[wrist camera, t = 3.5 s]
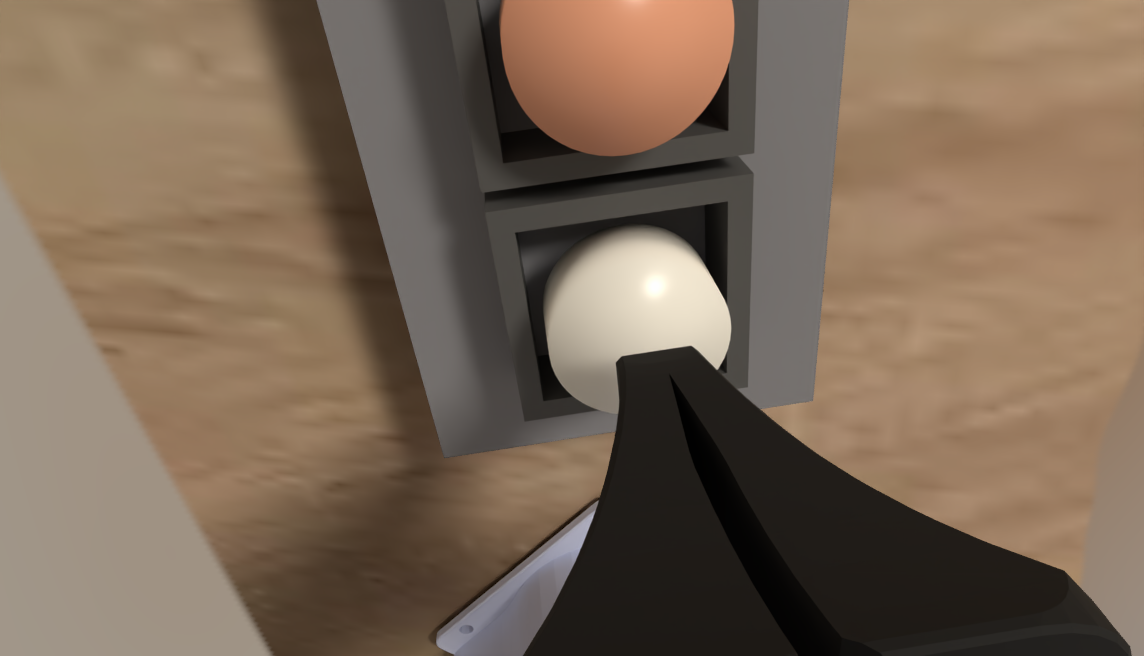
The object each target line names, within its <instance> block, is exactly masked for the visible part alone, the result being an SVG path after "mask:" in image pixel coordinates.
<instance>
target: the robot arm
mask: <svg viewBox="0 0 1144 656" xmlns="http://www.w3.org/2000/svg"><path fill="white" fill-rule="evenodd" d="M616 372H617V382H618V392H619V410H618V418H617V425H616V433H615V439H614V444H613V448H612V453H611V457H610V462H609V466H608V471H607V475H606V478H605V482H604V485H603V489H602V492H601V495H600V499H599V500H598V501H596V502H595V503H594V504H593V505H592V506H590V507H589V508H588V509H587V510H585V511H584V512H583V513H582V514H581V515H579V516H578V517H577V518H576V519H574V520H573V521H572V522H571V523H570V524H568V525H567V526H566V527H565V528H563V529H562V530H561V531H560V532H559V533H557V534H556V535H555V536H554V537H552V538H551V539H550V540H549V541H548V542H546V543H545V544H544V545H543V546H541V547H540V548H539V549H538V550H537V551H535V552H534V553H533V554H532V555H530V556H529V557H528V558H527V559H526V560H524V561H523V562H522V563H521V564H520V565H518V566H517V567H516V568H515V569H513V570H512V571H511V572H510V573H509V574H507V575H506V576H505V577H504V578H502V579H501V580H500V581H499V582H498V583H496V584H495V585H494V586H493V587H491V588H490V589H489V590H488V591H487V592H485V593H484V594H483V595H482V596H480V597H479V598H478V599H477V600H476V601H474V602H473V603H472V604H471V605H469V606H468V607H467V608H466V609H465V610H463V611H462V612H461V613H460V614H459V615H457V616H456V617H455V618H454V619H452V620H451V621H450V622H449V623H448V624H446V625H445V626H444V627H443V628H441V629H440V630H439V631H438V632H437V637H436V644H437V646H438V647H439V648H441V649H442V650H445V651H447V652H449V653H451V654H454V656H1132V655H1131V649H1130V646H1129V645H1128V644H1127V642H1126V641H1125V640H1124V639H1123V637H1121V635H1120V634H1119V633H1118V631H1117V630H1116V629H1115V628H1114V627H1113V625H1112V624H1111V623H1110V622H1109V620H1108V619H1107V618H1106V616H1105V615H1104V614H1103V613H1102V612H1101V610H1100V609H1099V608H1098V607H1097V606H1096V604H1095V603H1094V602H1093V601H1092V599H1091V598H1090V597H1089V596H1088V595H1087V594H1086V593H1085V592H1084V591H1083V590H1082V589H1081V588H1080V587H1079V586H1078V585H1077V584H1076V583H1075V582H1074V581H1073V580H1072V578H1071V577H1070V576H1069V575H1068V574H1067V573H1066V572H1065V571H1063V570H1061V569H1058V568H1055V567H1052V566H1050V565H1047V564H1044V563H1042V562H1039V561H1036V560H1033V559H1031V558H1028V557H1025V556H1022V555H1020V554H1017V553H1014V552H1011V551H1009V550H1006V549H1003V548H1001V547H998V546H995V545H992V544H990V543H987V542H985V541H982V540H980V539H977V538H975V537H973V536H970V535H968V534H966V533H964V532H961V531H959V530H957V529H954V528H952V527H950V526H948V525H945V524H943V523H941V522H938V521H936V520H934V519H932V518H930V517H928V516H926V515H924V514H922V513H919V512H917V511H915V510H913V509H911V508H909V507H907V506H905V505H904V504H902V503H900V502H898V501H896V500H894V499H892V498H890V497H888V496H887V495H885V494H883V493H881V492H879V491H877V490H875V489H873V488H872V487H870V486H868V485H866V484H865V483H863V482H861V481H859V480H858V479H856V478H854V477H853V476H851V475H849V474H848V473H846V472H845V471H843V470H841V469H840V468H838V467H837V466H835V465H834V464H832V463H830V462H829V461H827V460H826V459H824V458H823V457H821V456H820V455H818V454H817V453H815V452H814V451H813V450H811V449H810V448H808V447H807V446H806V445H804V444H803V443H802V442H800V441H799V440H798V439H796V438H795V437H794V436H792V435H791V434H790V433H788V432H787V431H786V430H785V429H783V428H782V427H781V426H780V425H778V424H777V423H776V422H775V421H773V420H772V419H771V418H770V417H768V416H767V415H766V414H765V413H764V412H763V411H762V410H760V409H759V408H758V407H757V406H756V405H755V404H753V403H752V402H751V401H750V400H749V399H748V398H746V397H745V396H744V395H743V394H742V393H741V392H740V391H739V390H738V389H736V388H735V387H734V386H733V385H732V384H731V383H730V382H729V381H728V380H727V379H726V378H725V377H724V376H723V375H722V374H721V373H720V372H719V371H718V370H717V369H716V368H715V367H714V366H713V365H712V364H711V363H710V362H709V361H708V360H707V359H706V358H705V357H704V356H703V355H702V354H701V353H700V352H699V351H698V350H697V349H695V348H694V347H693V346H685V347H678V348H672V349H665V350H659V351H652V352H646V353H639V354H632V355H626V356H621V357H620V358H619V360H618V361H617V362H616Z"/></svg>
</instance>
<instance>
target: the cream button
mask: <svg viewBox="0 0 1144 656" xmlns="http://www.w3.org/2000/svg"><path fill="white" fill-rule="evenodd" d="M543 315H544V322H545V329H546V336H547V343H548V351H549V357H550V361H551V366H552V368H553V371H554V373H555V375H556V377H557V379H558V380H559V382H560V383H561V385H562V386H563V387H564V388H565V389H566V390H567V391H568V392H569V393H570V394H571V395H572V396H573V397H574V398H576V399H577V400H579V401H580V402H582V403H584V404H586V405H588V406H590V407H592V408H594V409H597V410H600V411H604V412H608V413H613V414H618V410H619V392H618V382H617V372H616V362H617V361H618V360H619V358H620V357H621V356H626V355H632V354H639V353H646V352H652V351H659V350H665V349H672V348H678V347H685V346H693V347H694V348H695V349H697V350H698V351H699V352H700V353H701V354H702V355H703V356H704V357H705V358H706V359H707V360H708V361H709V362H710V363H711V364H712V365H713V366H714V367H715V368H716V369H717V370H718V368H719V367H720V365H721V363H722V361H723V360H724V358H725V355H726V352H727V350H728V346H729V342H730V337H731V319H730V314H729V310H728V307H727V305H726V302H725V300H724V298H723V296H722V294H721V293H720V291H719V289H718V287H717V286H716V284H715V282H714V280H713V278H712V277H711V275H710V273H709V271H708V269H707V268H706V266H705V264H704V262H703V261H702V259H701V257H700V256H699V254H698V253H697V252H696V250H695V249H694V248H693V247H692V246H691V245H690V244H689V243H688V242H687V241H686V240H684V239H683V238H681V237H680V236H678V235H677V234H675V233H673V232H671V231H669V230H666V229H664V228H660V227H657V226H653V225H647V224H622V225H616V226H611V227H608V228H605V229H602V230H599V231H596V232H594V233H592V234H590V235H588V236H586V237H585V238H583V239H581V240H580V241H578V242H577V243H576V244H574V245H573V246H572V247H571V248H569V249H568V250H567V251H566V252H565V253H564V254H563V255H562V257H561V258H560V259H559V260H558V262H557V263H556V264H555V266H554V268H553V269H552V271H551V273H550V275H549V277H548V280H547V282H546V285H545V290H544V294H543Z"/></svg>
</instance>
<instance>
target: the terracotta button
mask: <svg viewBox="0 0 1144 656" xmlns="http://www.w3.org/2000/svg"><path fill="white" fill-rule="evenodd" d="M499 28H500V38H501V47H502V56H503V62H504V66H505V71H506V75H507V78H508V80H509V83H510V86H511V89H512V91H513V93H514V95H515V97H516V99H517V101H518V103H519V104H520V105H521V107H522V108H523V110H524V111H525V113H526V114H527V115H528V117H529V118H530V119H531V120H532V121H533V122H534V123H535V124H536V125H537V126H538V127H539V128H540V129H541V130H542V131H543V132H545V133H546V134H547V135H548V136H550V137H551V138H553V139H554V140H556V141H558V142H559V143H561V144H563V145H565V146H567V147H569V148H572V149H574V150H577V151H581V152H584V153H588V154H593V155H599V156H623V155H630V154H635V153H640V152H643V151H646V150H649V149H652V148H655V147H657V146H659V145H661V144H663V143H665V142H667V141H669V140H670V139H672V138H674V137H675V136H677V135H678V134H680V133H681V132H682V131H683V130H685V129H686V128H687V127H688V126H690V125H691V124H692V123H693V122H694V121H695V120H696V119H697V118H698V117H699V116H700V114H701V113H702V112H703V111H704V110H705V108H706V107H707V106H708V104H709V103H710V102H711V100H712V99H713V97H714V95H715V94H716V92H717V90H718V88H719V87H720V84H721V82H722V80H723V78H724V75H725V73H726V70H727V67H728V64H729V61H730V57H731V52H732V47H733V40H734V9H733V3H732V0H501V2H500V8H499Z"/></svg>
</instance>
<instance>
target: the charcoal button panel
mask: <svg viewBox="0 0 1144 656" xmlns="http://www.w3.org/2000/svg"><path fill="white" fill-rule="evenodd" d="M500 2H501V0H317V4H318V8H319V11H320V15H321V18H322V22H323V25H324V29H325V33H326V36H327V40H328V43H329V47H330V51H331V54H332V58H333V61H334V65H335V68H336V72H337V76H338V79H339V83H340V86H341V90H342V94H343V97H344V101H345V104H346V108H347V111H348V115H349V119H350V122H351V126H352V129H353V133H354V137H355V140H356V144H357V147H358V151H359V154H360V158H361V162H362V165H363V169H364V172H365V176H366V180H367V183H368V187H369V190H370V194H371V198H372V201H373V205H374V208H375V212H376V215H377V219H378V223H379V226H380V230H381V233H382V237H383V241H384V244H385V248H386V251H387V255H388V258H389V262H390V266H391V269H392V273H393V276H394V280H395V284H396V287H397V291H398V294H399V298H400V301H401V305H402V309H403V312H404V316H405V319H406V323H407V327H408V330H409V334H410V337H411V341H412V344H413V348H414V352H415V355H416V359H417V362H418V366H419V370H420V373H421V377H422V380H423V384H424V387H425V391H426V395H427V398H428V402H429V405H430V409H431V413H432V416H433V420H434V423H435V427H436V430H437V434H438V438H439V441H440V445H441V448H442V452H443V456H444V458H449V457H455V456H462V455H468V454H474V453H481V452H487V451H494V450H500V449H507V448H513V447H519V446H526V445H532V444H539V443H545V442H552V441H558V440H564V439H571V438H577V437H584V436H590V435H597V434H603V433H609V432H616V425H617V418H618V414H613V413H608V412H604V411H600V410H597V409H594V408H592V407H590V406H588V405H586V404H584V403H582V402H580V401H579V400H577V399H576V398H574V397H573V396H572V395H571V394H570V393H569V392H568V391H567V390H566V389H565V388H564V387H563V386H562V385H561V383H560V382H559V380H558V379H557V377H556V375H555V373H554V371H553V368H552V366H551V361H550V357H549V351H548V343H547V336H546V329H545V322H544V315H543V294H544V290H545V285H546V282H547V280H548V277H549V275H550V273H551V271H552V269H553V268H554V266H555V264H556V263H557V262H558V260H559V259H560V258H561V257H562V255H563V254H564V253H565V252H566V251H567V250H568V249H569V248H571V247H572V246H573V245H574V244H576V243H577V242H578V241H580V240H581V239H583V238H585V237H586V236H588V235H590V234H592V233H594V232H596V231H599V230H602V229H605V228H608V227H611V226H616V225H622V224H647V225H653V226H657V227H660V228H664V229H666V230H669V231H671V232H673V233H675V234H677V235H678V236H680V237H681V238H683V239H684V240H686V241H687V242H688V243H689V244H690V245H691V246H692V247H693V248H694V249H695V250H696V252H697V253H698V254H699V256H700V257H701V259H702V261H703V262H704V264H705V266H706V268H707V269H708V271H709V273H710V275H711V277H712V278H713V280H714V282H715V284H716V286H717V287H718V289H719V291H720V293H721V294H722V296H723V298H724V300H725V302H726V305H727V307H728V310H729V314H730V319H731V337H730V342H729V346H728V350H727V352H726V355H725V358H724V360H723V361H722V363H721V365H720V367H719V368H718V371H719V372H720V373H721V374H722V375H723V376H724V377H725V378H726V379H727V380H728V381H729V382H730V383H731V384H732V385H733V386H734V387H735V388H736V389H738V390H739V391H740V392H741V393H742V394H743V395H744V396H745V397H746V398H748V399H749V400H750V401H751V402H752V403H753V404H755V405H756V406H757V407H758V408H759V409H764V408H770V407H777V406H783V405H790V404H796V403H802V402H809V401H813V395H814V384H815V373H816V362H817V351H818V340H819V329H820V318H821V306H822V295H823V284H824V273H825V262H826V251H827V240H828V229H829V217H830V206H831V195H832V184H833V173H834V162H835V151H836V140H837V129H838V117H839V106H840V95H841V84H842V73H843V62H844V51H845V40H846V28H847V17H848V6H849V0H732V3H733V9H734V40H733V47H732V52H731V57H730V61H729V64H728V67H727V70H726V73H725V75H724V78H723V80H722V82H721V84H720V87H719V88H718V90H717V92H716V94H715V95H714V97H713V99H712V100H711V102H710V103H709V104H708V106H707V107H706V108H705V110H704V111H703V112H702V113H701V114H700V116H699V117H698V118H697V119H696V120H695V121H694V122H693V123H692V124H691V125H690V126H688V127H687V128H686V129H685V130H683V131H682V132H681V133H680V134H678V135H677V136H675V137H674V138H672V139H670V140H669V141H667V142H665V143H663V144H661V145H659V146H657V147H655V148H652V149H649V150H646V151H643V152H640V153H635V154H630V155H623V156H599V155H593V154H588V153H584V152H581V151H577V150H574V149H572V148H569V147H567V146H565V145H563V144H561V143H559V142H558V141H556V140H554V139H553V138H551V137H550V136H548V135H547V134H546V133H545V132H543V131H542V130H541V129H540V128H539V127H538V126H537V125H536V124H535V123H534V122H533V121H532V120H531V119H530V118H529V117H528V115H527V114H526V113H525V111H524V110H523V108H522V107H521V105H520V104H519V103H518V101H517V99H516V97H515V95H514V93H513V91H512V89H511V86H510V83H509V80H508V78H507V75H506V71H505V66H504V62H503V56H502V47H501V38H500V28H499V8H500Z"/></svg>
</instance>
